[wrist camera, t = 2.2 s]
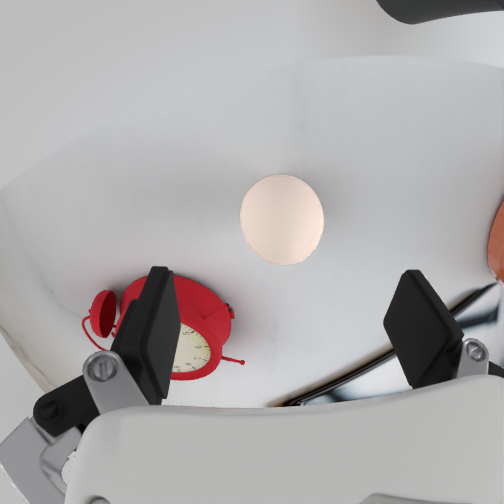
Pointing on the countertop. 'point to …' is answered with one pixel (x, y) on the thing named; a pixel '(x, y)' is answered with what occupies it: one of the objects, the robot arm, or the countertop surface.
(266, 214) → the egg
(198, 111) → the countertop surface
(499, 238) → the bowl
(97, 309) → the alarm clock
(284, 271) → the countertop surface
